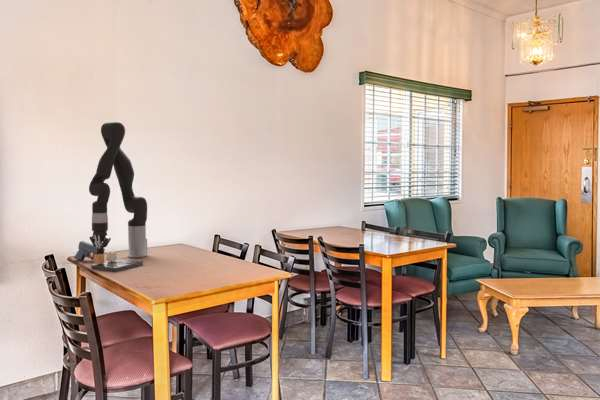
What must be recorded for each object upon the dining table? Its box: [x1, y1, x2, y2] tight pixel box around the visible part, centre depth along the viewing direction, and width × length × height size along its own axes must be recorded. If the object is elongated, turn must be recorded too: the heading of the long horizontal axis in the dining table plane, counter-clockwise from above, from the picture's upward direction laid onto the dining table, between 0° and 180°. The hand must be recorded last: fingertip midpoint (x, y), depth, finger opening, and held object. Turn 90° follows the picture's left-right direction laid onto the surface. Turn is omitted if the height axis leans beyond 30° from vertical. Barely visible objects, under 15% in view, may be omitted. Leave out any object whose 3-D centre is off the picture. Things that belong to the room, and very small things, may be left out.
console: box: [90, 258, 144, 273], centre depth 240 cm, size 18×16×2 cm
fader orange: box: [93, 253, 105, 264], centre depth 236 cm, size 4×3×5 cm
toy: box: [73, 240, 106, 261], centre depth 256 cm, size 3×16×10 cm, turn 78°
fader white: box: [106, 250, 118, 262], centre depth 243 cm, size 4×3×5 cm
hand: (100, 255), depth 246 cm, fingers closed
